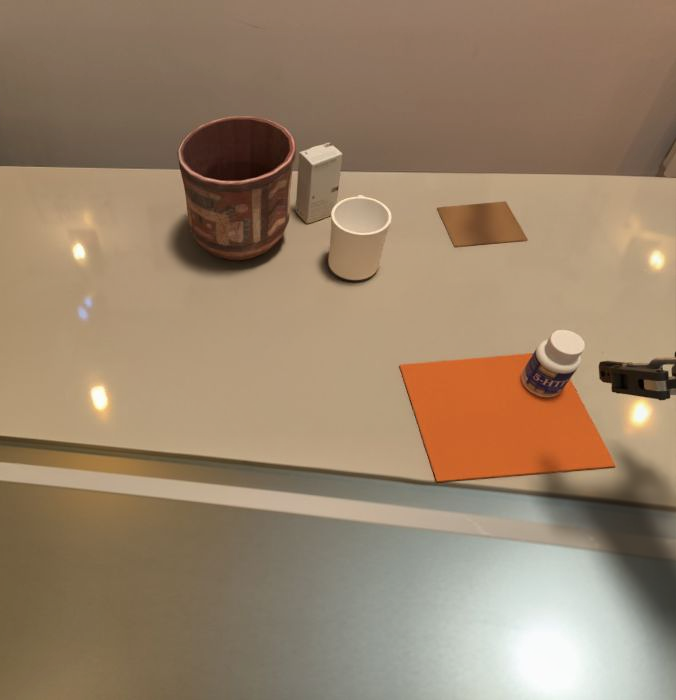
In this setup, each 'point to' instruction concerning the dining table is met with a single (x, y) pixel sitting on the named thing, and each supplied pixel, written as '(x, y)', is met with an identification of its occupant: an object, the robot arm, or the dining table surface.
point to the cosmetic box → (318, 182)
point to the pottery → (237, 184)
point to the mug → (357, 237)
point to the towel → (498, 421)
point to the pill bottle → (553, 363)
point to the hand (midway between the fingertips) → (640, 365)
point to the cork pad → (481, 224)
